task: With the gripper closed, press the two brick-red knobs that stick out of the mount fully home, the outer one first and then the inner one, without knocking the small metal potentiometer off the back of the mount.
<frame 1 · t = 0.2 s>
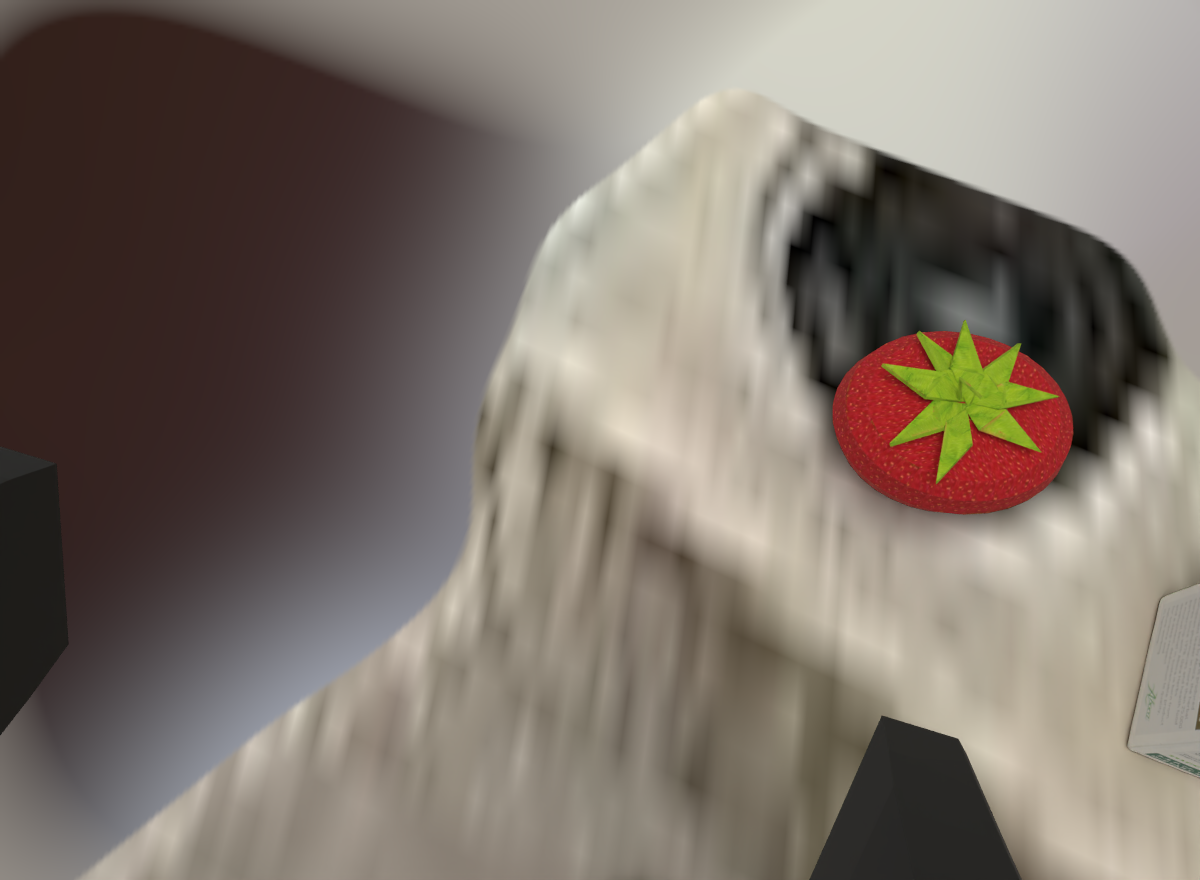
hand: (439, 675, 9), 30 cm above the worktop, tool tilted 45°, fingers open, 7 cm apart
strawberry: (909, 468, 41), on the worktop
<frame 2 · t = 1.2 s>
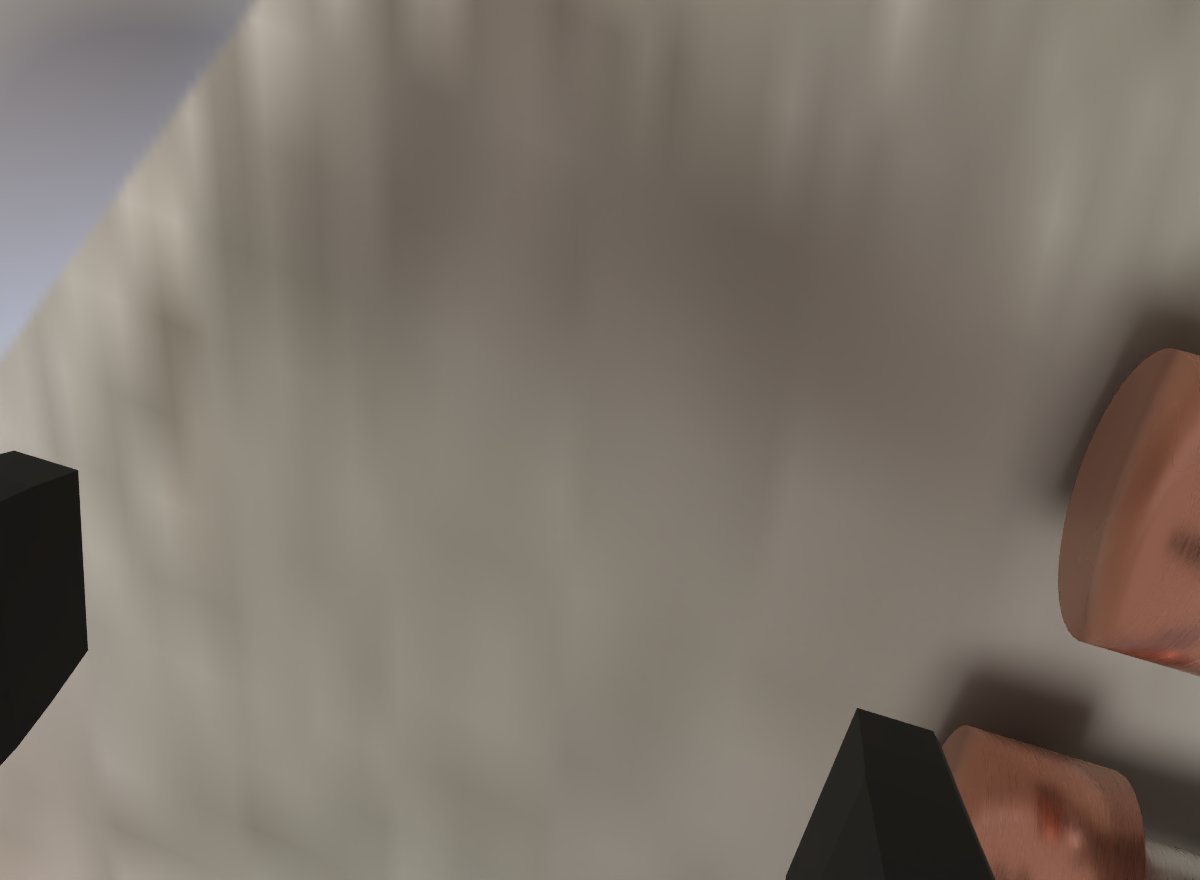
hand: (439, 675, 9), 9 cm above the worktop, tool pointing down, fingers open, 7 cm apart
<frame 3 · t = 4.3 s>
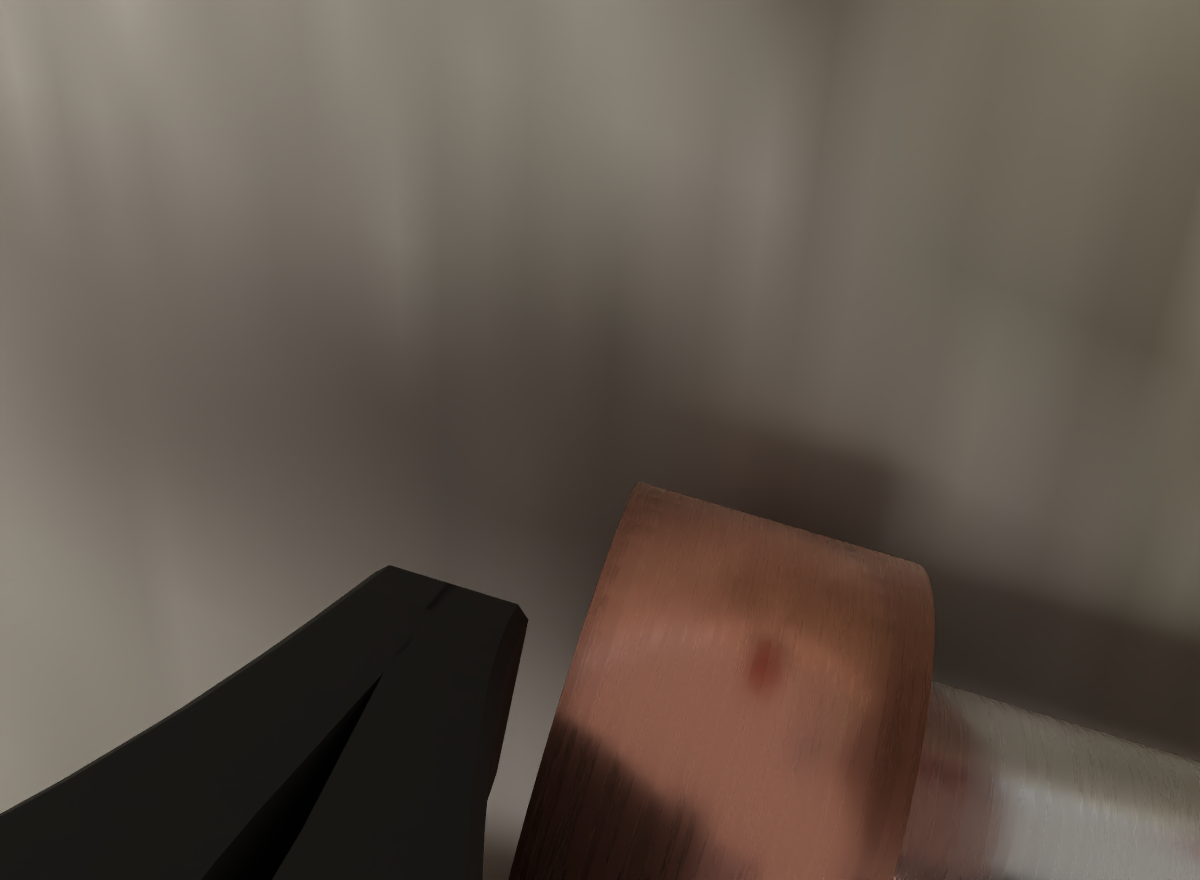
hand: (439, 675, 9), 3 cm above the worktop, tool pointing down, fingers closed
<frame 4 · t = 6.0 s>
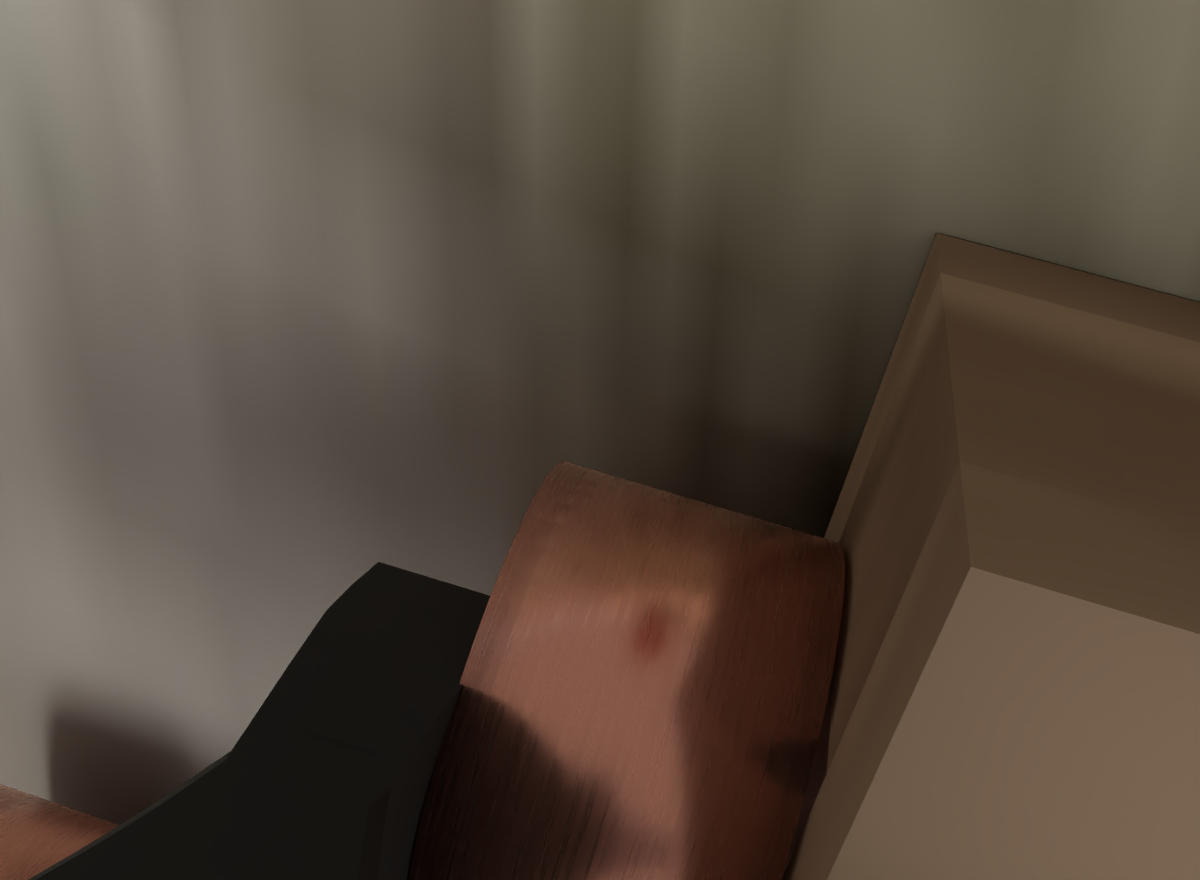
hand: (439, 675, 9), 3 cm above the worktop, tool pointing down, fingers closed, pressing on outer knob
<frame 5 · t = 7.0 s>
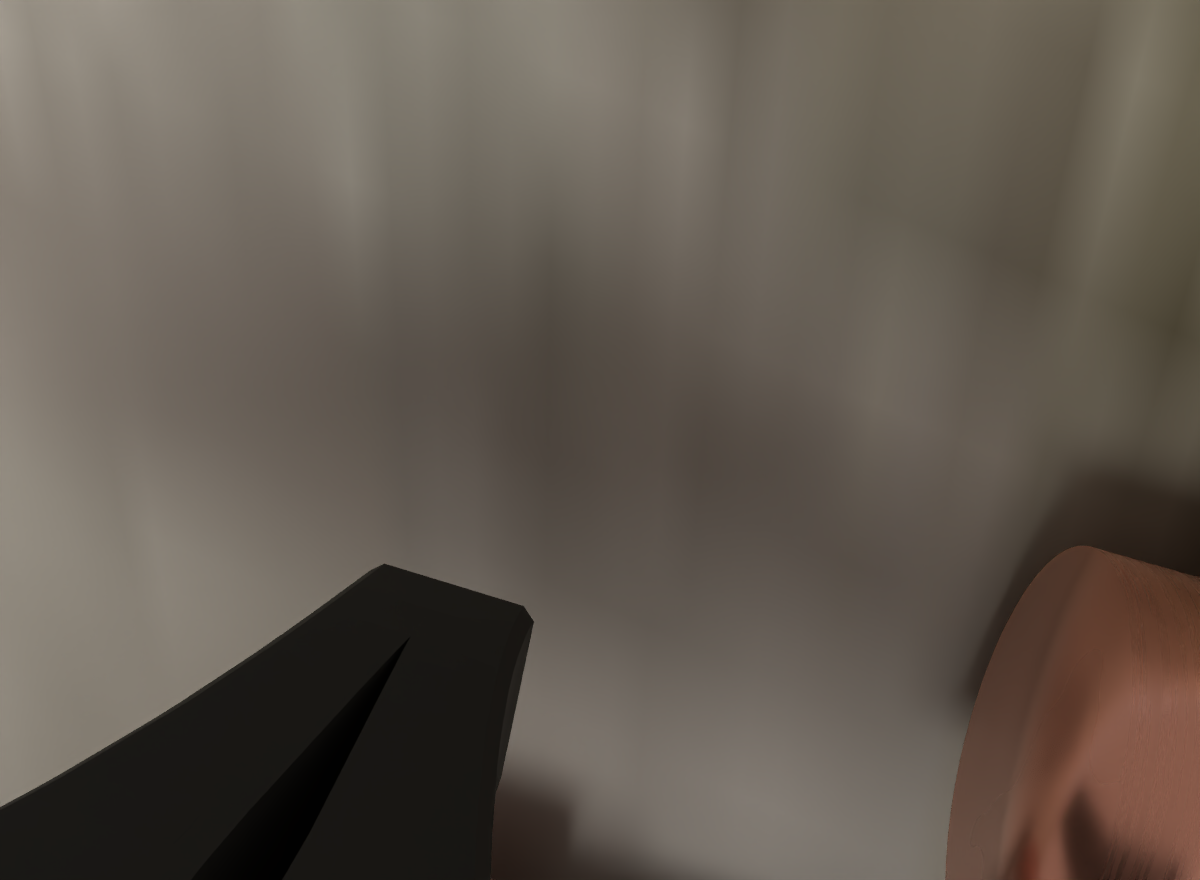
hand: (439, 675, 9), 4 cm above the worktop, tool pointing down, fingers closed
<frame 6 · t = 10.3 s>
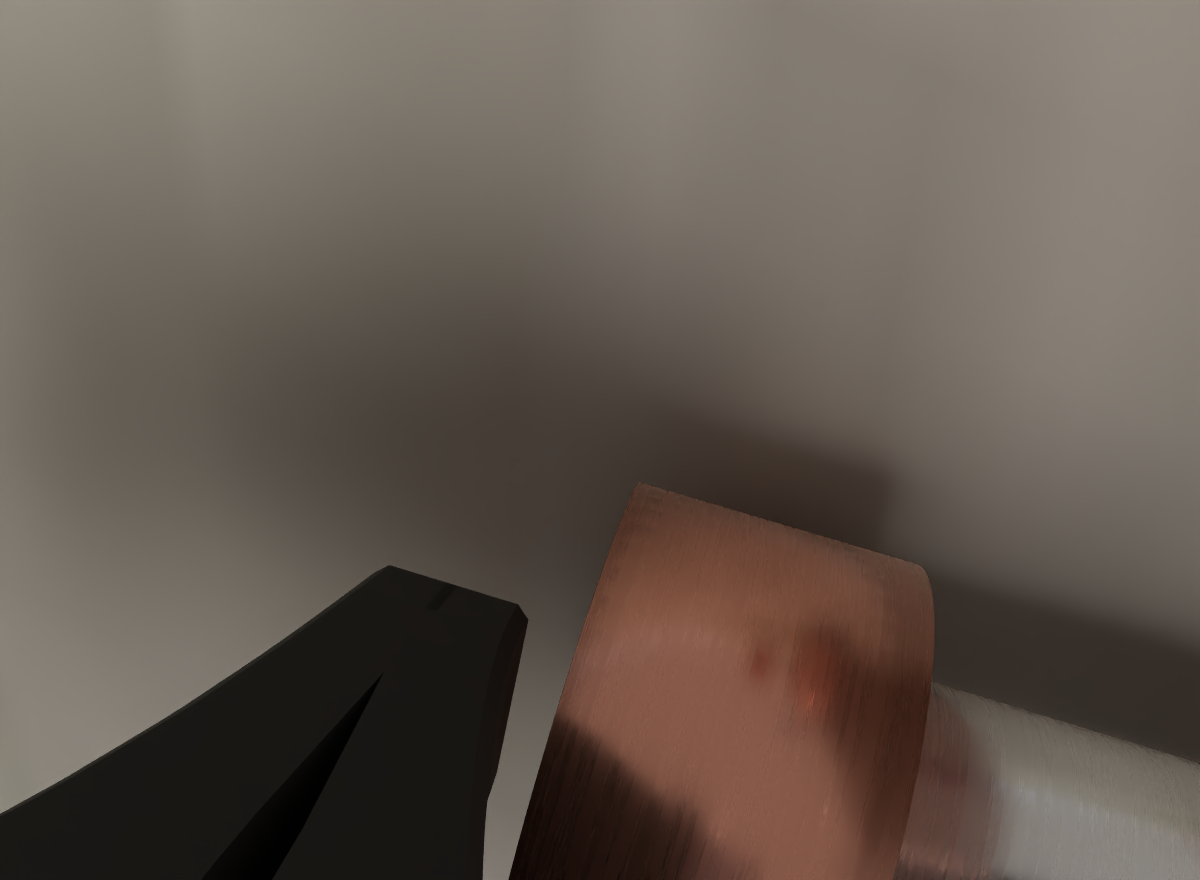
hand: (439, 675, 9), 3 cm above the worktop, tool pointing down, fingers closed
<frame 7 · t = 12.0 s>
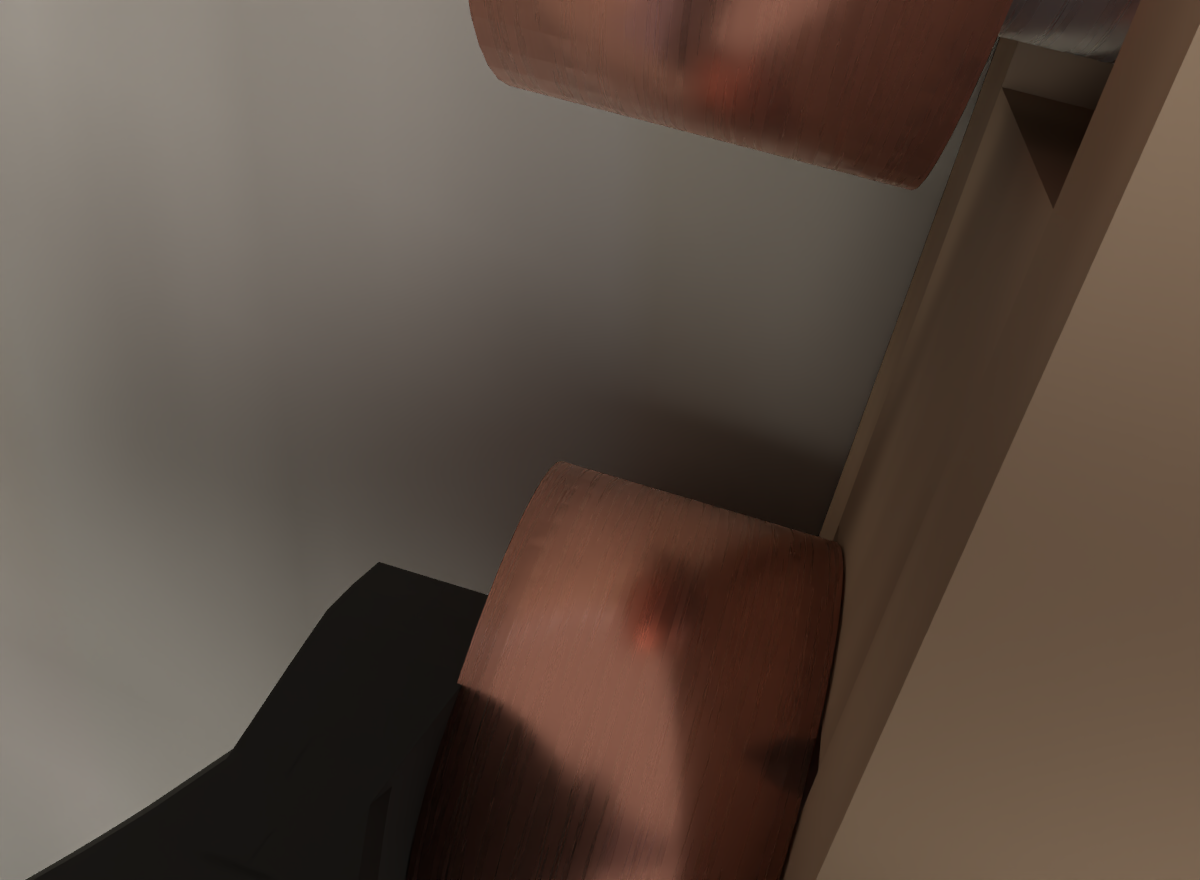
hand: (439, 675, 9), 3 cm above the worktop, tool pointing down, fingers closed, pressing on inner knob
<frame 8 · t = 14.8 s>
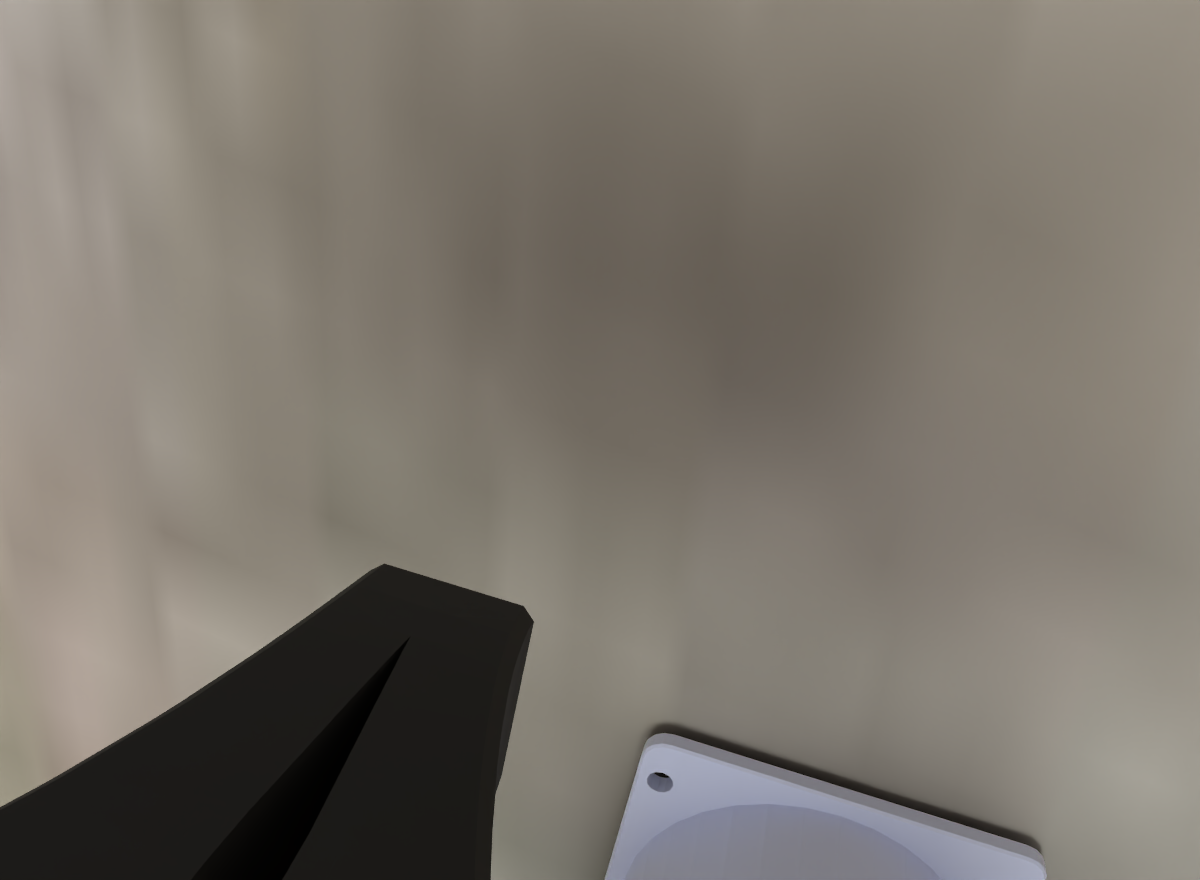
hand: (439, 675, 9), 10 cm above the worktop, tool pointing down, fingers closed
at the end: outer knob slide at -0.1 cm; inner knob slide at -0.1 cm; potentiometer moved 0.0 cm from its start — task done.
